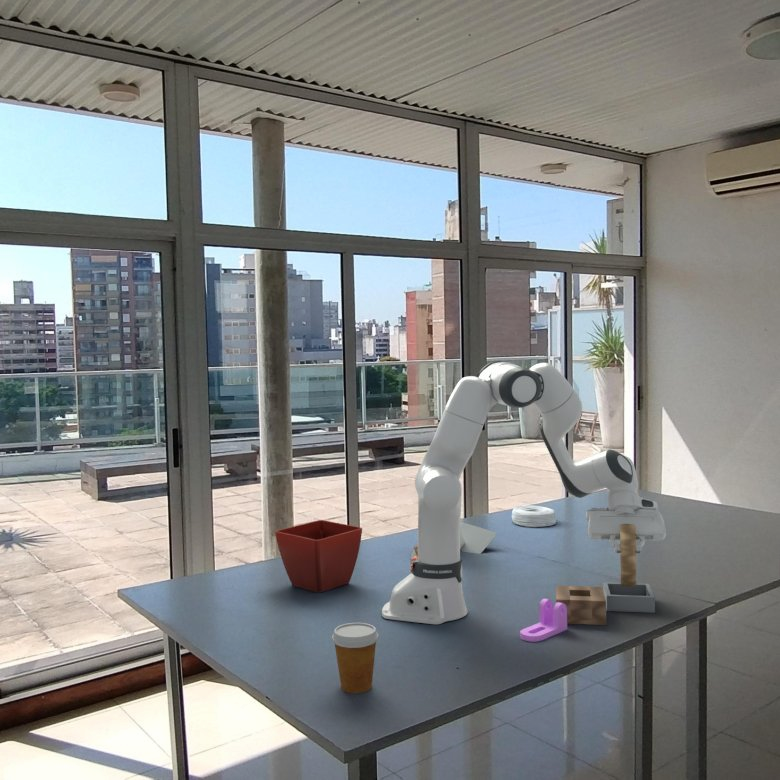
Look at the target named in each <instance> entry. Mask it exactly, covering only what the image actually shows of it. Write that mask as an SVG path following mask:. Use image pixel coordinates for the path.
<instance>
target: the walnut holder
mask: <svg viewBox="0 0 780 780" xmlns="http://www.w3.org/2000/svg"><path fill="white" fill-rule="evenodd" d="M557 602H560V603H564V604H565V605H566V607H567V624H571V625H572V624H573V625H574V624H575V625H596V626H597V625H598V626H606V625H607V609H606V599H605V595H604V586H586V585H556V584H555V604H556V603H557Z"/></svg>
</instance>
